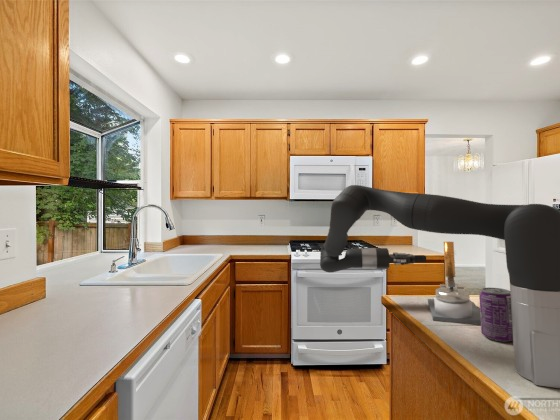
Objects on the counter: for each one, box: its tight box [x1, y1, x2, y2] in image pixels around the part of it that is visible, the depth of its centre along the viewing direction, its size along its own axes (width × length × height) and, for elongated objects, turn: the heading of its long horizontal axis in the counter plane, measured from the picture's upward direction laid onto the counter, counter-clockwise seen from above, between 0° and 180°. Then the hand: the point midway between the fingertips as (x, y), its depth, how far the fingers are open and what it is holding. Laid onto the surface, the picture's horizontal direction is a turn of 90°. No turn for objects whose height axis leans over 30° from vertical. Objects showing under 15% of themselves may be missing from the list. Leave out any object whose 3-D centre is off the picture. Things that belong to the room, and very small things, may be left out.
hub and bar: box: [435, 241, 471, 303], centre depth 95 cm, size 19×9×16 cm, turn 151°
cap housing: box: [427, 296, 481, 326], centre depth 94 cm, size 20×14×5 cm
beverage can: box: [478, 287, 513, 343], centre depth 74 cm, size 7×7×12 cm
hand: (425, 258), depth 104 cm, fingers closed
